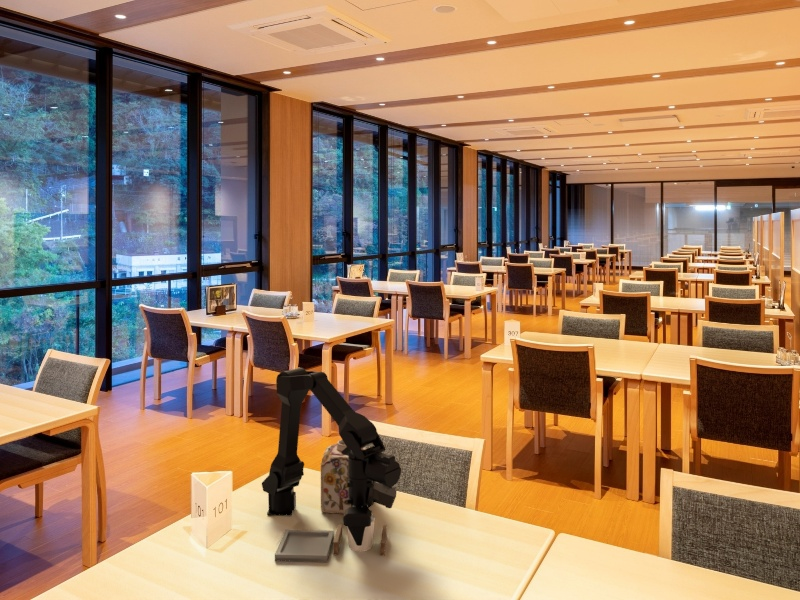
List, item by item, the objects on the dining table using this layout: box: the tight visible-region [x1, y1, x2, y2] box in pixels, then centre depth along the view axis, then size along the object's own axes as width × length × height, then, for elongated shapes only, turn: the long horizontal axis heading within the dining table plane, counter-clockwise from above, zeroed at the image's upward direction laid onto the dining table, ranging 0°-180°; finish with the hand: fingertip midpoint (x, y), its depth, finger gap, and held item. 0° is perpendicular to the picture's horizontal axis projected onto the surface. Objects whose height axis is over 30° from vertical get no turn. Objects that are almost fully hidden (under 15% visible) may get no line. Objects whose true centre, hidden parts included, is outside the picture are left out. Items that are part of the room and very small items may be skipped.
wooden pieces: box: [332, 523, 388, 556], centre depth 156 cm, size 12×9×3 cm
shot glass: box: [346, 514, 376, 552], centre depth 156 cm, size 7×7×7 cm
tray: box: [274, 529, 335, 563], centre depth 154 cm, size 12×12×2 cm
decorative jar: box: [320, 439, 368, 515], centre depth 177 cm, size 12×12×18 cm
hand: (360, 537), depth 156 cm, fingers open, 7 cm apart
